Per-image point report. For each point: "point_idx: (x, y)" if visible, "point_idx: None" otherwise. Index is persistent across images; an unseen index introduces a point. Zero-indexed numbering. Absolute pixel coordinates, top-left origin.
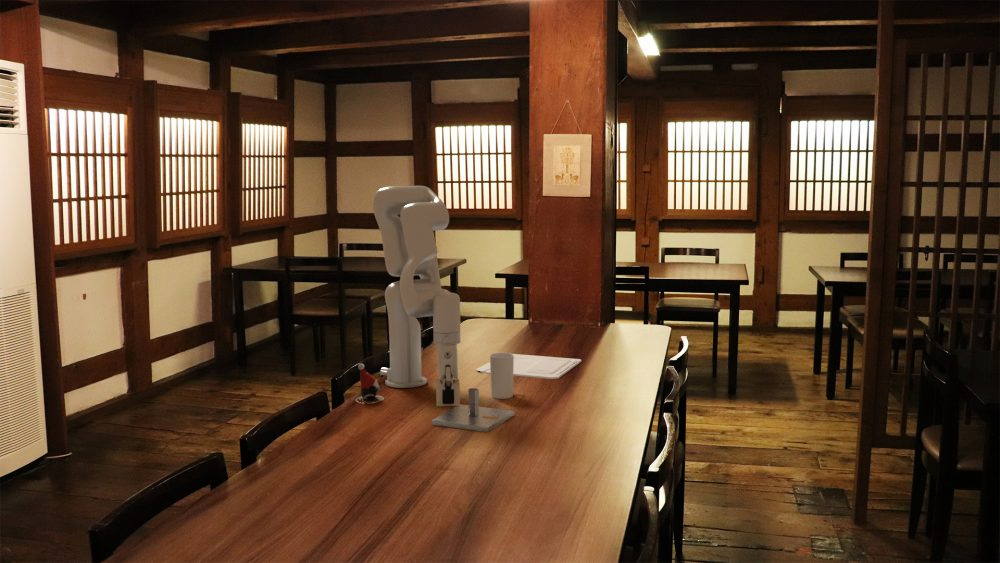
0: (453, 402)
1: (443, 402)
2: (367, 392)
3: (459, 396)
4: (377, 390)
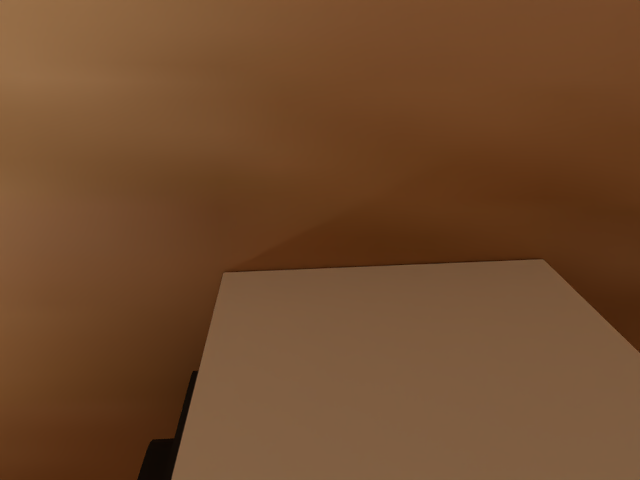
0: None
1: None
2: None
3: (610, 329)
4: None
